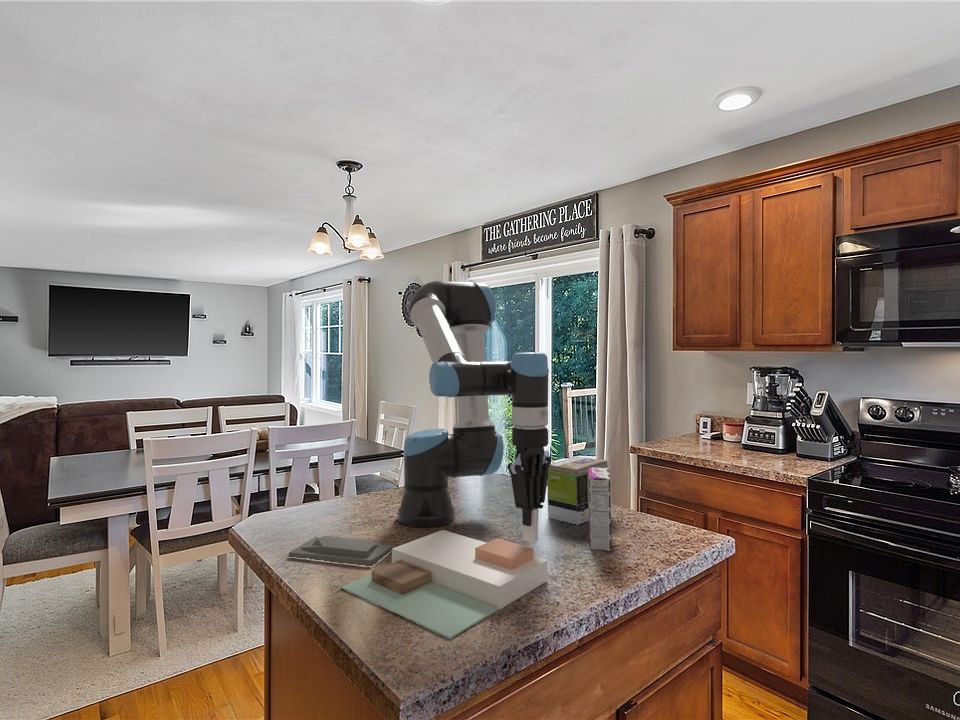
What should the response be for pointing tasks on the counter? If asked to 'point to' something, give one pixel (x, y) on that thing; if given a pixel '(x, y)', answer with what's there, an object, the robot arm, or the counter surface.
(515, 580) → the white flat block
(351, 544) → the soap mold
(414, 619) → the mat
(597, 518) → the candy bar box
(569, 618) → the counter surface
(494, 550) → the terracotta tile
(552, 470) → the tea box
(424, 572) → the walnut tile
